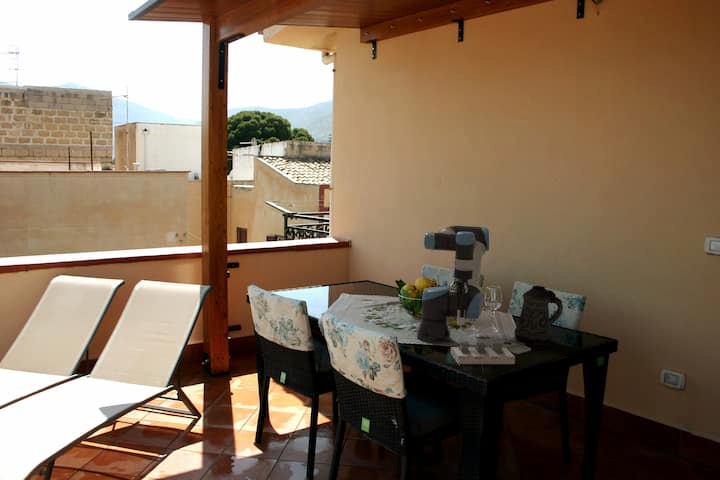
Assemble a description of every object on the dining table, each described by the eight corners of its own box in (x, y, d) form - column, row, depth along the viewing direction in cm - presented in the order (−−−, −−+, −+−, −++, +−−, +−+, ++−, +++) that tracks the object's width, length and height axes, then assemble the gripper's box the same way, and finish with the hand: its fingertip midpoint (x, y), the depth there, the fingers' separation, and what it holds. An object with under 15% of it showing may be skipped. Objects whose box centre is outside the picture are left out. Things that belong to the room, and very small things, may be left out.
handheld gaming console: (503, 339, 268) (531, 347, 257) (503, 342, 268) (531, 351, 257) (489, 342, 262) (517, 351, 250) (488, 346, 262) (517, 355, 250)
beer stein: (506, 336, 277) (510, 283, 274) (541, 333, 284) (545, 282, 281) (528, 346, 261) (532, 291, 258) (564, 343, 268) (568, 289, 265)
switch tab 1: (459, 349, 246) (459, 340, 246) (466, 349, 247) (466, 340, 246) (461, 352, 242) (461, 343, 242) (468, 352, 243) (469, 343, 242)
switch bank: (450, 353, 248) (450, 346, 248) (504, 353, 250) (504, 346, 250) (458, 363, 236) (458, 356, 235) (514, 364, 238) (515, 356, 237)
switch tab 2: (475, 349, 247) (476, 341, 246) (482, 349, 247) (483, 341, 247) (478, 352, 243) (478, 343, 243) (485, 352, 243) (485, 343, 243)
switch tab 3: (491, 349, 248) (492, 341, 247) (498, 349, 248) (499, 341, 247) (494, 352, 244) (495, 343, 243) (502, 352, 244) (502, 344, 243)
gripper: (451, 266, 253) (448, 320, 256) (458, 271, 240) (455, 328, 243) (468, 266, 254) (465, 320, 257) (476, 271, 241) (473, 328, 244)
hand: (460, 324), depth 250 cm, fingers closed
